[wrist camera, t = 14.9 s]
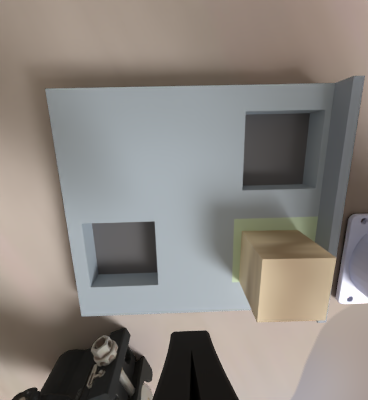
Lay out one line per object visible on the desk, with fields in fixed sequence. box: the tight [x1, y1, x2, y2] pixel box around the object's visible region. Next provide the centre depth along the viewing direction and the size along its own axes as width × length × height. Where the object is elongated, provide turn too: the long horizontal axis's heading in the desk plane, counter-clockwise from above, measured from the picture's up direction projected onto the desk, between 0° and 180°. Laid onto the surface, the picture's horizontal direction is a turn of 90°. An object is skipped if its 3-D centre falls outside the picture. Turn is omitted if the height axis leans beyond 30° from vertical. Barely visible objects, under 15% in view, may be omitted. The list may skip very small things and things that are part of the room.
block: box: [239, 230, 336, 322], centre depth 14 cm, size 4×4×4 cm
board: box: [45, 76, 365, 323], centre depth 16 cm, size 18×16×4 cm
